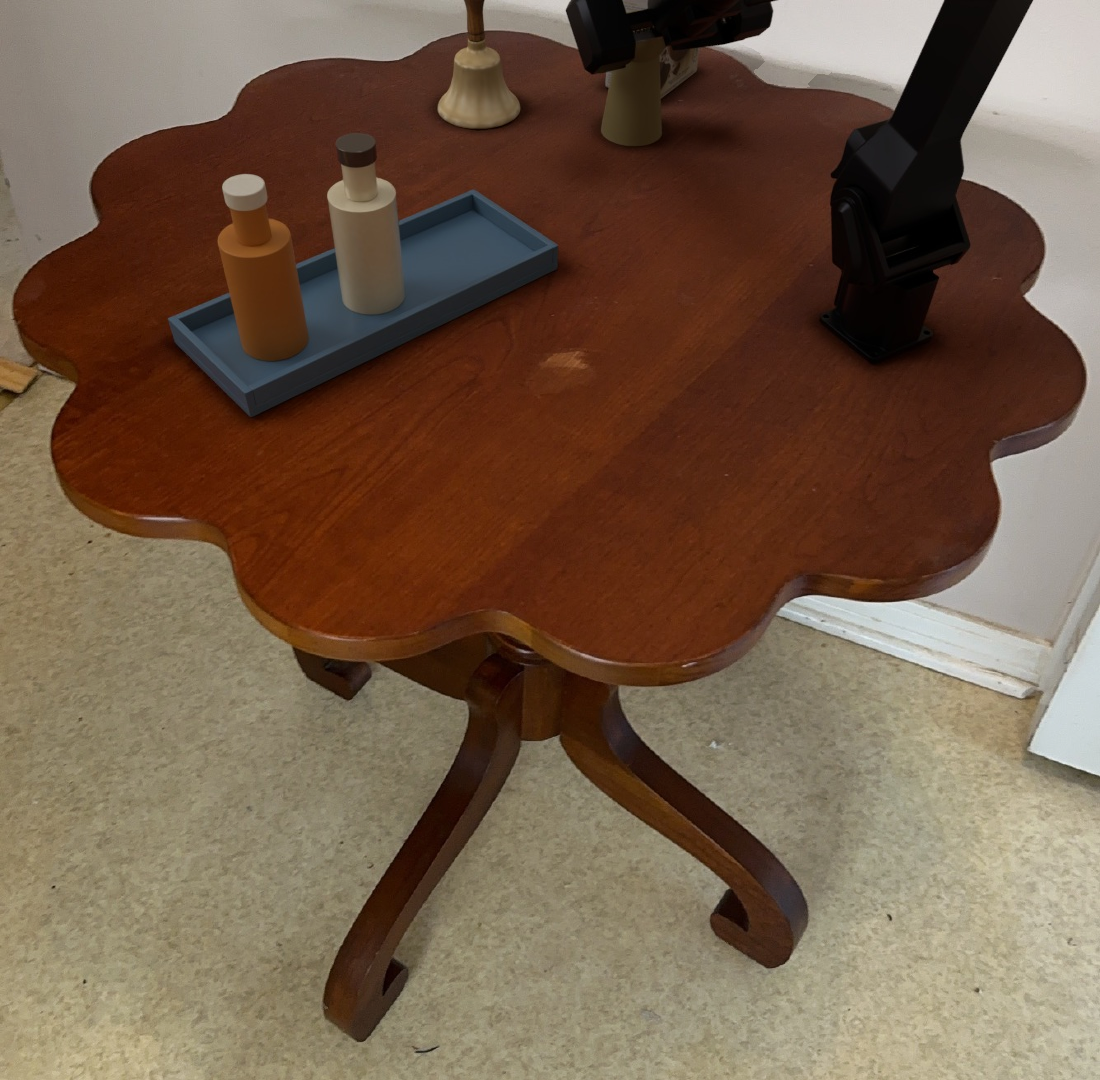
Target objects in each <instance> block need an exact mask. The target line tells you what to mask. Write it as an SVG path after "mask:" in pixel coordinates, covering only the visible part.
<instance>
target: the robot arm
mask: <svg viewBox="0 0 1100 1080" xmlns="http://www.w3.org/2000/svg"><path fill="white" fill-rule="evenodd" d="M777 1H778V0H648V3H647V5H648V9H645V10H640V11H636V12H631V13H626V10H625V7H624V4H623V0H570V1H569V2H568V4H567V6H566V8H565V13H566V16H567V19H568V22H569V27H570V29H571V33H572V35H573V38H574V41H575V44H576V48H577V51H578V53H579V57H580V59H581V62H582V66H583V69H584V71H586V72H588V73H589V74H590V75H591V76H592V75H597V74H606V72H610V71H614V70H618V69H622V68H626V65H627V64H629V63H630V62H631V61H632V60H633V59H634V58H635V49H636V44H637V43H641V42H646V41H650V40H654V39H659V38H663V39H664V43H665V46H666V47H667V46H671V47H672V50H673V51H676V50H685V49H693V48H707V47H708V48H709V47H716V46H724V45H727V44H732V43H737V42H740V41H741V42H742V41H744V40H746V39H750V38H754V37H759V36H761V35H762V34H763V33H765V32H766V31H767V30H768V29H769V28H771V25H772V22H773V16H774V7H773V4H772V2H777ZM1033 2H1034V0H943V2H942V4H941V6H940V8H939V11H938V13H937V15H936V17H935V19H934V22H933V24H932V26H931V28H930V30H929V32H928V35H927V37H926V39H925V41H924V44H923V46H922V48H921V50H920V53H919V55H918V57H917V59H916V61H915V63H914V66H913V67H912V70H911V72H910V74H909V77H908V80H907V81H906V84H905V85H904V88H903V91H902V93H900V94H901V95H900V97H899V99H898V101H897V104H896V106H895V108H894V110H893V112H892V114H891V115H890V117H889V118H887V119H884V120H881V121H877V122H874V123H870V124H867V125H864V126H861V127H857V128H854V129H853V130H852V131H851V133H850V134H849V136H848V137H847V139H846V141H845V145H844V149H843V152H842V156H841V159H840V161H839V163H838V164H837V167H836V168H834V170H833V171H831V172H830V178H831V179H835V182H834V183H833V185H832V189H831V192H830V201H829V206H830V227H831V228H830V229H831V235H830V236H831V262H832V264H833V265H834V266H836V268H838V269H839V270H840V272H841V273H840V278H839V281H838V285H837V288H836V292H835V296H834V300H833V306H834V307H835V308H832V309H829V310H827V311H825V312H822V313H820V315H819V319H818V321H819V323H820V324H822V325H823V326H824V327H825V328H827V330H829V331H830V332H831V333H832V334H834V335H835V336H836V337H838V338H839V339H841V341H843V342H844V343H845V344H846V345H848V346H849V347H850V348H851V349H853V350H854V351H855V352H856V353H857V354H859V355H860V356H861V357H862V358H863V359H865V360H866V361H868V362H869V363H872V364H875V363H879V362H882V361H883V360H886V359H888V358H891V357H894V356H896V355H898V354H900V353H903V352H905V351H908V350H911V349H912V348H913V349H914V348H915V347H918V346H920V345H922V344H925V343H927V342H929V341H931V340H932V338H933V336H934V332H933V331H932V330H931V329H930V328H929V327H928V326H925V321H926V318H927V315H928V313H929V310H930V307H931V303H932V301H933V298H934V295H935V292H936V290H937V285H938V283H939V280H940V276H939V275H937V274H936V273H934V271H935V270H938V269H941V268H945V267H946V266H949V265H950V266H953V265H955V264H958V263H959V262H960V261H961V260H962V258H963V257H964V256H965V255H966V253H967V252H968V251H969V250H970V249H971V245H972V243H971V240H970V237H969V235H968V234H969V233H968V230H967V228H966V224H965V221H964V217H963V215H962V211H961V208H960V205H959V201H958V199H957V192H958V190H959V188H960V184H961V182H962V178H963V176H964V173H965V163H964V155H963V148H962V147H963V146H962V139H963V136H964V133H965V131H966V129H967V127H968V126H969V124H970V122H971V120H972V119H973V118H972V117H973V116H974V114H975V112H976V111H977V108H978V106H980V103H981V101H982V99H983V97H984V95H985V93H986V92H987V89H988V88H989V86H990V84H991V81H992V80H993V78H994V76H995V74H996V72H997V70H998V68H999V66H1000V65H1001V63H1002V61H1003V59H1004V57H1005V56H1006V53H1007V51H1008V49H1009V48H1010V46H1011V44H1012V42H1013V40H1014V38H1015V36H1016V34H1017V32H1018V31H1019V29H1020V27H1021V24H1022V22H1023V21H1024V19H1025V17H1026V15H1027V14H1028V12H1029V9H1030V8H1031V5H1032V4H1033ZM653 26H654V28H653ZM649 27H650V29H649ZM645 28H646V29H645ZM641 29H642V30H641ZM637 30H638V31H637ZM633 31H634V32H633Z"/></svg>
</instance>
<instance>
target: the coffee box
mask: <svg viewBox="0 0 1100 1080" xmlns="http://www.w3.org/2000/svg"><path fill="white" fill-rule="evenodd" d="M647 3H648V0H623V4H624V7H625V10H626V12H629V11H635V10H645V9H648V5H647ZM700 50H701V49H700V48H693V49H685V50H676V51H673V50H672V47H671V46H667V47H666V46H665V49H664V50H663V52H662V53H661V54H660V55H659V56H660V88H661V99H663V98H664V97H666V96H667V95H668V94H669V93H671V92H672V91H673V90H674V89H676V88H677V87H678V86H680V85H682V83H683V82H685V81H686V80H687V79H689V78H690V77H692V76H693V75H694V74H695V73H697V71H698V64H699V57H700V56H699V55H700ZM611 74H612V71H610V72H605V87H606V88H608V89H609V84H610V79H611Z"/></svg>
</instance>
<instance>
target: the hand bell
mask: <svg viewBox="0 0 1100 1080" xmlns="http://www.w3.org/2000/svg"><path fill="white" fill-rule="evenodd" d="M463 2H464V5H465V9H466V31H467V33H466V38H467V47H464V48H461V49H460V50H458V51H457V52H456V53H455V56H454V59H453V70H452V71H453V72H452V78H451V83H450V85H449V87H448V89H447V91H446V92H445V93H444V94H443V95H442V96H441V98H440V99H439V101H438V102H437V103H438V104H437V113H438V115H439V117H440V118H441V119H442V120H443V121H445V122H447V123H448V124H451V125H453V126H455V127H460V128H463V129H473V130H485V129H493V128H497V127H501V126H504V125H507V124H509V123H510V122H512V121H514V120H515V119H516V118H518V116H519V115H520V112H521V104H520V101H519V99H518V98H517V96H516V94H514V93H513V92H511V90H510V89H509V88H508V86H507V83H506V82H505V78H504V74H503V67H502V61H501V56H500V54H499V53H498V52H497V50H495V49H493V48H492V47H488V46H487V44H486V43H487V41H486V33H485V21H484V6H485V5H484V4H485V0H463Z"/></svg>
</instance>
